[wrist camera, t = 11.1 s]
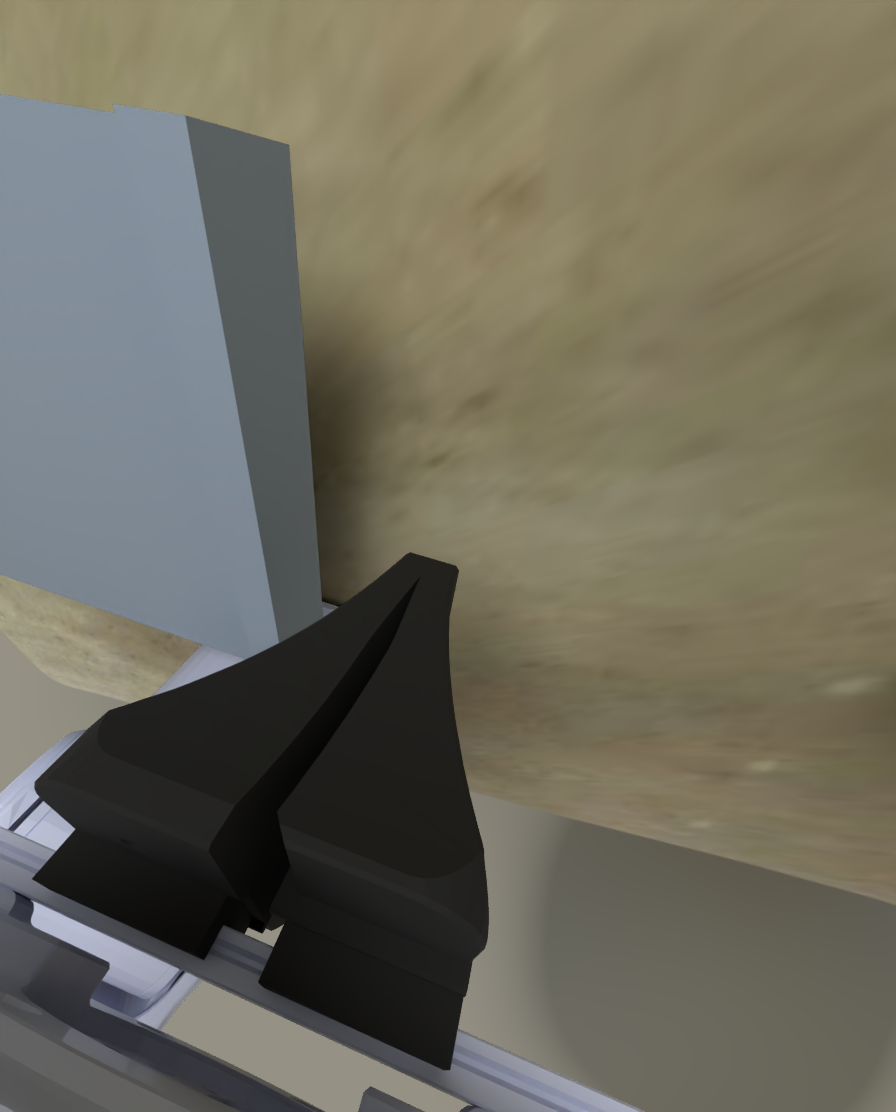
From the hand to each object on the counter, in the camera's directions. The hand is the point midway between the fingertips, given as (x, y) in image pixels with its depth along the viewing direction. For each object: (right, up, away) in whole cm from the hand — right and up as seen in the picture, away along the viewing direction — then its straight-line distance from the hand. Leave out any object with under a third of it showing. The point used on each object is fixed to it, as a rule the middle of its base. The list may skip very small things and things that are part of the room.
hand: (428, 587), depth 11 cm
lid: (-11, +5, +3) cm, 13 cm away
